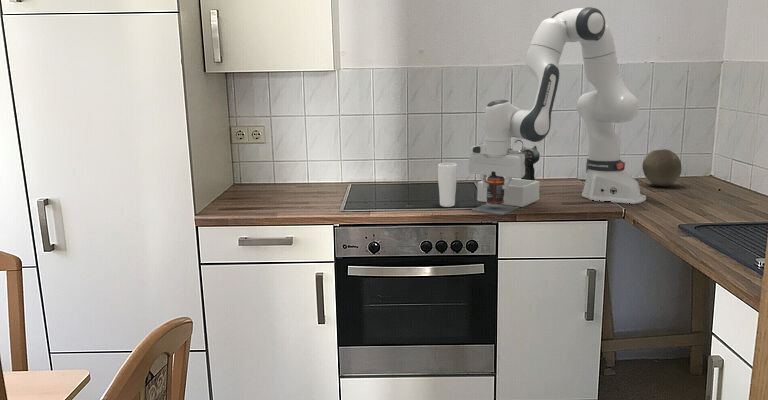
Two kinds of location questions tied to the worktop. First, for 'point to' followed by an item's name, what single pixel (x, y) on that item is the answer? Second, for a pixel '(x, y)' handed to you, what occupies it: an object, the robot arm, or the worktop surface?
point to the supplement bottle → (495, 189)
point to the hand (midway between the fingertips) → (495, 188)
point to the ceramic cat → (529, 161)
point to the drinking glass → (447, 183)
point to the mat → (495, 209)
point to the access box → (515, 192)
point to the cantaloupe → (662, 167)
